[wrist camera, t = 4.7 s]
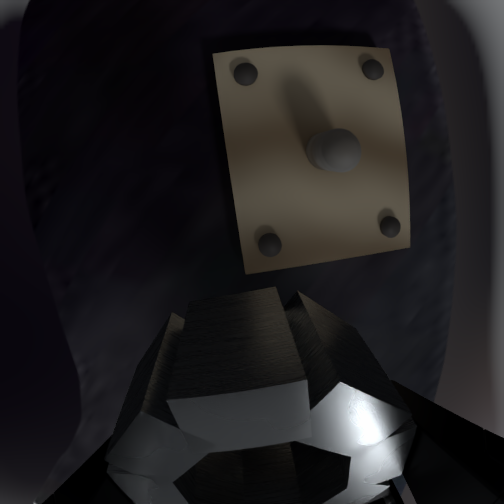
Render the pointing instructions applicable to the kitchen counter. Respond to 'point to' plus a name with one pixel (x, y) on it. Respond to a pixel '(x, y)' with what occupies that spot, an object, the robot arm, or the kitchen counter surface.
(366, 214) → the beige mounting plate
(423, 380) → the kitchen counter surface
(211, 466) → the ring
